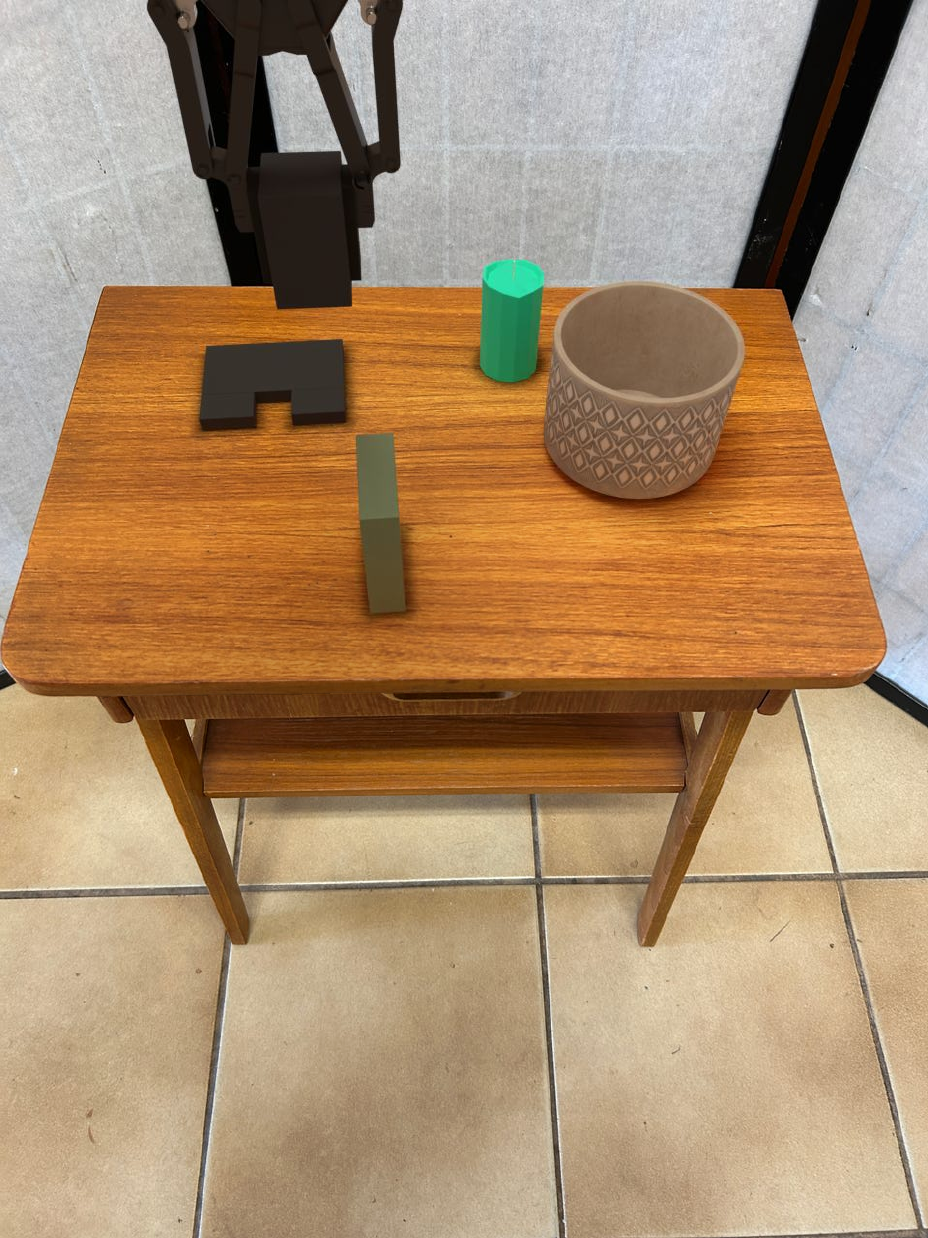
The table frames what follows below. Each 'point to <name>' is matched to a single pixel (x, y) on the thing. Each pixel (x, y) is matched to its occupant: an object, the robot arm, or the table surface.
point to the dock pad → (273, 382)
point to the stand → (380, 522)
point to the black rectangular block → (305, 229)
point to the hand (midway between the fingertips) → (312, 269)
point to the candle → (510, 319)
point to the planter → (640, 387)
